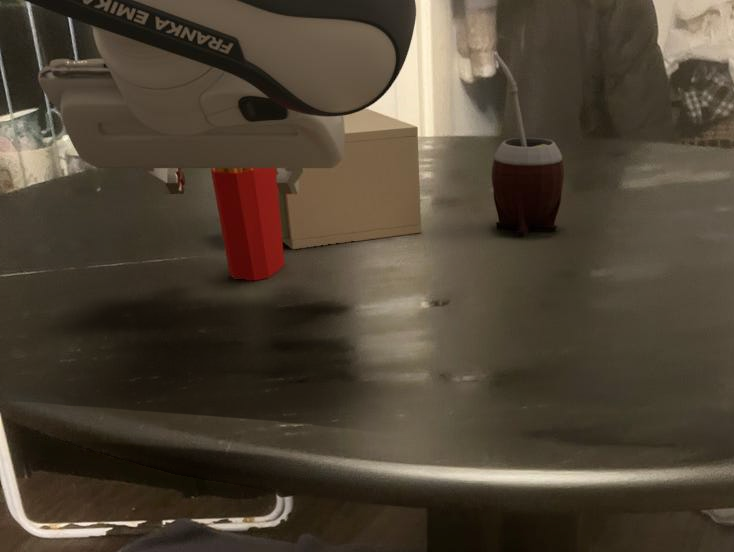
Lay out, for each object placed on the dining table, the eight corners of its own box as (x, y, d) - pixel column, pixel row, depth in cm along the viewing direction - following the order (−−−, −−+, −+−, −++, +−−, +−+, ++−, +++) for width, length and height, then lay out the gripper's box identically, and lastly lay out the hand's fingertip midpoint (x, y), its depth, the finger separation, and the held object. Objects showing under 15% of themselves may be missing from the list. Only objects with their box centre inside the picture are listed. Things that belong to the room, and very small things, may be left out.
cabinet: (292, 249, 94) (280, 138, 88) (254, 221, 103) (240, 118, 97) (421, 232, 99) (417, 126, 93) (373, 206, 108) (367, 108, 102)
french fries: (253, 256, 92) (234, 113, 84) (293, 259, 91) (277, 114, 84) (217, 283, 85) (193, 129, 78) (260, 285, 84) (240, 131, 77)
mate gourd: (553, 239, 96) (560, 64, 87) (476, 235, 98) (475, 62, 89) (567, 221, 102) (575, 55, 93) (493, 217, 104) (494, 53, 95)
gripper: (22, 104, 66) (104, 222, 80) (323, 103, 65) (354, 222, 79) (30, 21, 67) (110, 151, 81) (327, 20, 66) (356, 151, 80)
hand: (233, 186), depth 80 cm, fingers open, 8 cm apart
